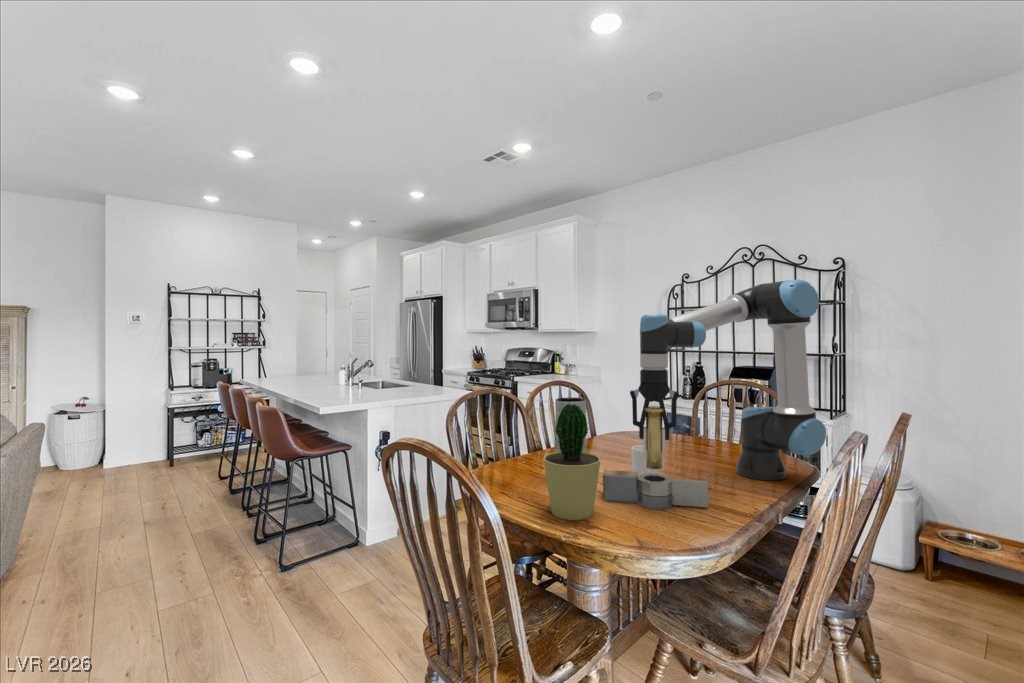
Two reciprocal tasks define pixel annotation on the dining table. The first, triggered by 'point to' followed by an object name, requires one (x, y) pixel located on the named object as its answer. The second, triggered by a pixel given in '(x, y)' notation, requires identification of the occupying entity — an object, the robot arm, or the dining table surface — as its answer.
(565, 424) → the potted cactus
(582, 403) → the vase
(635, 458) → the mug
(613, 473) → the block
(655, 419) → the hinge pin
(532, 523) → the dining table surface
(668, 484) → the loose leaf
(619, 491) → the hinge base
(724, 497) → the dining table surface
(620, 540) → the dining table surface
